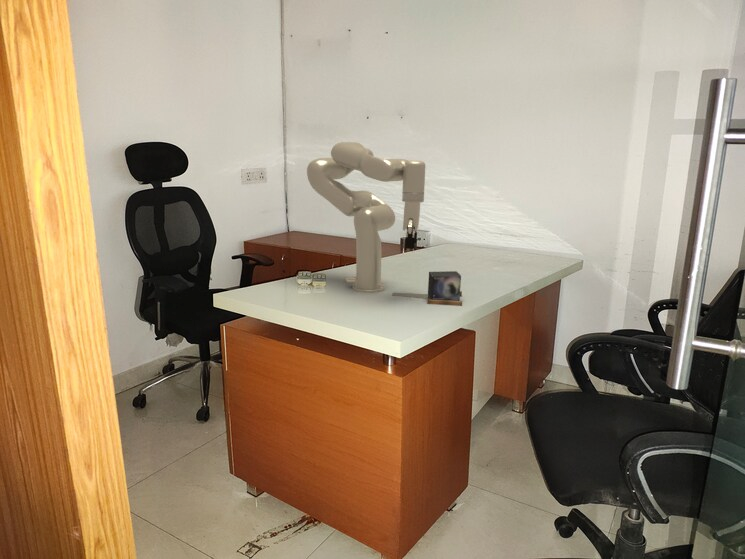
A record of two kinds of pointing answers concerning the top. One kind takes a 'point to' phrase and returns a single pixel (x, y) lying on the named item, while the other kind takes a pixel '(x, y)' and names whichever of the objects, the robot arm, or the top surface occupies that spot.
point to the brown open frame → (445, 302)
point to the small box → (444, 286)
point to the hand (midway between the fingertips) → (411, 245)
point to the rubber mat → (410, 295)
